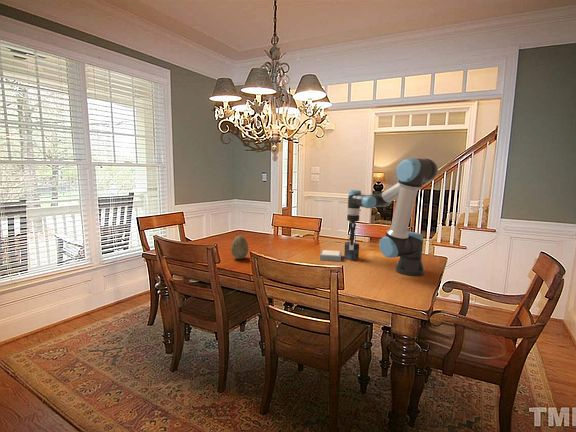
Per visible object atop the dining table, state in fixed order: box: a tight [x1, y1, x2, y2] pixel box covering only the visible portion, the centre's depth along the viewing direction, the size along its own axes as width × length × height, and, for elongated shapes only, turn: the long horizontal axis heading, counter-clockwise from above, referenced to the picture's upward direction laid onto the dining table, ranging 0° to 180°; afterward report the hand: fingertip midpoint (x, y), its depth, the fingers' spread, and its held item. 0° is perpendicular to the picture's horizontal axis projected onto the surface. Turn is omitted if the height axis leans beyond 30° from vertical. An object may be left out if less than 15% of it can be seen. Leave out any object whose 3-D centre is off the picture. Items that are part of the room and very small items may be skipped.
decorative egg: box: [230, 235, 249, 260], centre depth 209 cm, size 11×11×15 cm
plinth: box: [319, 249, 342, 262], centre depth 216 cm, size 13×13×3 cm
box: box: [343, 241, 360, 262], centre depth 214 cm, size 8×6×11 cm
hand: (351, 247), depth 214 cm, fingers open, 13 cm apart
